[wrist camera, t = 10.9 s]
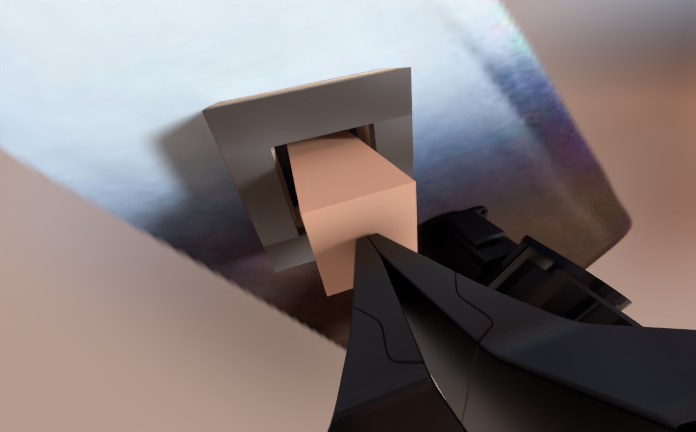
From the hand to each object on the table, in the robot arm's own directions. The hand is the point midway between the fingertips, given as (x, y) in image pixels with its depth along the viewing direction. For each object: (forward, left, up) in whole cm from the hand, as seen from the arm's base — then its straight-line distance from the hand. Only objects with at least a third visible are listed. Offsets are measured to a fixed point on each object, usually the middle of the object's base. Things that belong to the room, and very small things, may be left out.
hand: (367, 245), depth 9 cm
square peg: (0, 0, -10) cm, 10 cm away
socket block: (0, 0, -10) cm, 10 cm away
